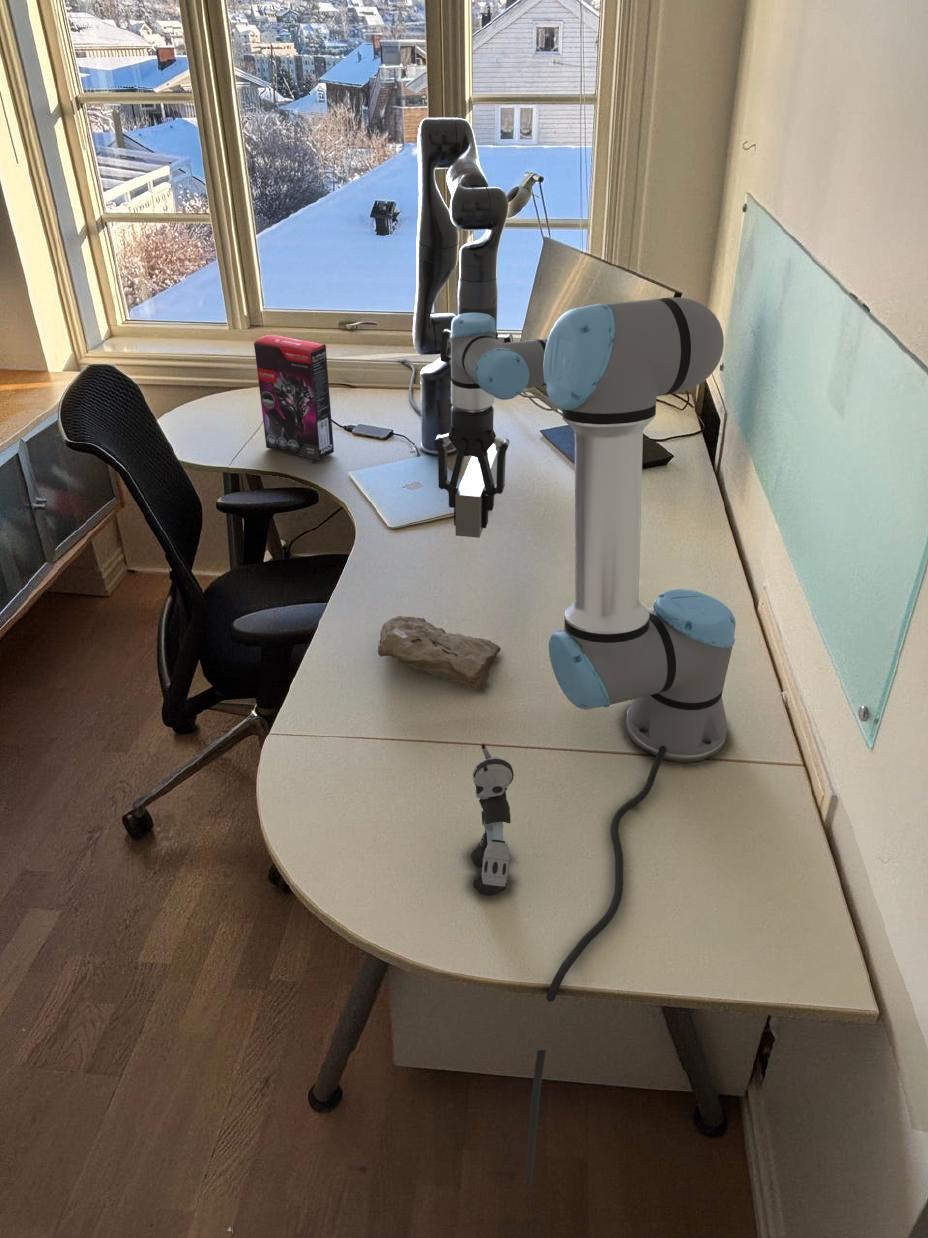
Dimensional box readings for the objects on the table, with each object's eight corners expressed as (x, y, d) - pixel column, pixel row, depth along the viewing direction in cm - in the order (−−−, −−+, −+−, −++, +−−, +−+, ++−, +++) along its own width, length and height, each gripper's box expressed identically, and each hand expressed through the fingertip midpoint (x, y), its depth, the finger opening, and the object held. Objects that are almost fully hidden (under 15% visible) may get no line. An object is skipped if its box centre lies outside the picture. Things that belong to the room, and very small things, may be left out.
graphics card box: (263, 448, 231) (250, 340, 216) (280, 439, 236) (269, 332, 221) (320, 462, 224) (310, 351, 209) (336, 452, 230) (328, 343, 214)
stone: (354, 663, 151) (360, 631, 149) (385, 632, 165) (392, 602, 162) (474, 706, 148) (483, 673, 145) (496, 671, 161) (504, 640, 159)
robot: (515, 932, 112) (522, 815, 100) (475, 934, 111) (478, 816, 100) (502, 814, 128) (507, 701, 117) (467, 815, 128) (468, 702, 117)
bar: (479, 537, 172) (480, 496, 167) (455, 535, 172) (455, 494, 168) (499, 481, 192) (500, 443, 187) (477, 479, 193) (477, 441, 188)
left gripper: (518, 299, 177) (515, 382, 186) (447, 294, 180) (447, 375, 189) (509, 310, 171) (506, 395, 180) (435, 304, 174) (436, 387, 183)
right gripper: (524, 401, 164) (519, 518, 176) (427, 394, 166) (429, 510, 179) (519, 416, 157) (514, 536, 170) (418, 409, 160) (421, 528, 173)
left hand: (476, 384), depth 184 cm, fingers open, 8 cm apart
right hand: (471, 523), depth 175 cm, fingers closed on bar, 5 cm apart
